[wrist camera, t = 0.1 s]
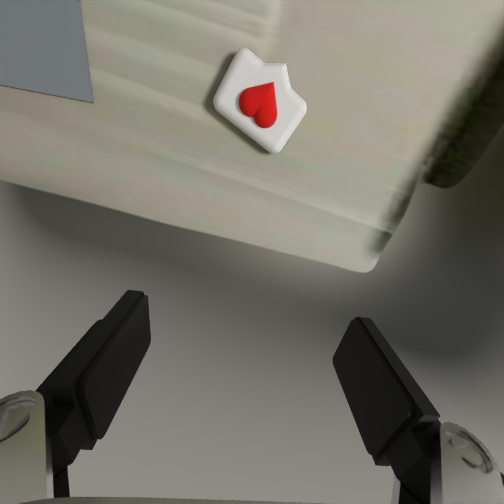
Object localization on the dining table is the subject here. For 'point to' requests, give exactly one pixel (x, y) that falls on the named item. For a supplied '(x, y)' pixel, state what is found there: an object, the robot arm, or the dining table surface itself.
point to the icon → (260, 100)
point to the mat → (44, 48)
